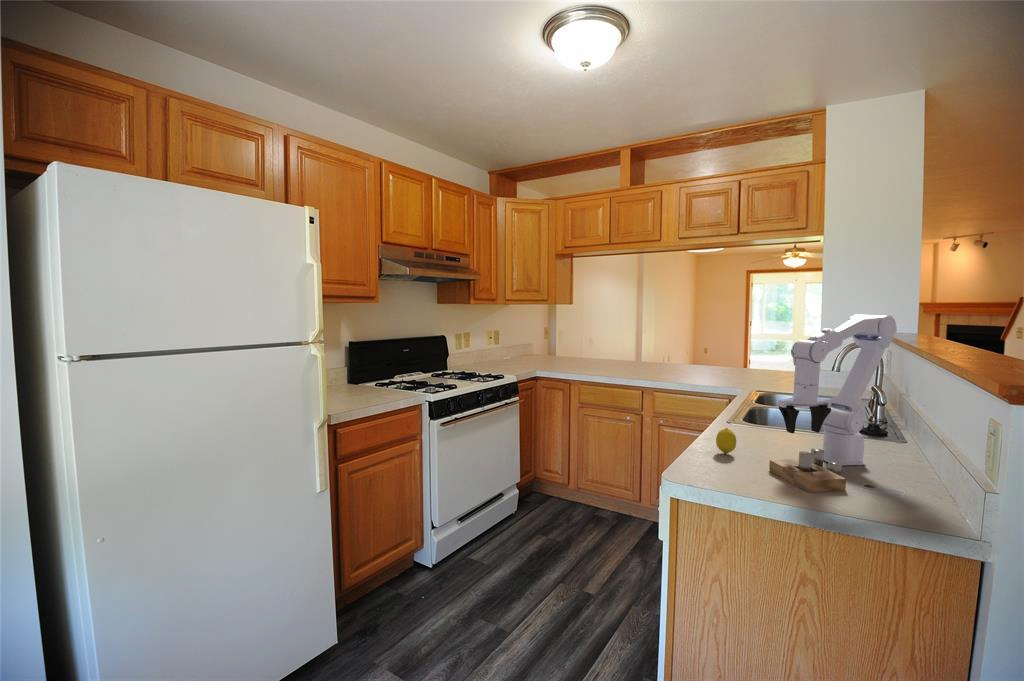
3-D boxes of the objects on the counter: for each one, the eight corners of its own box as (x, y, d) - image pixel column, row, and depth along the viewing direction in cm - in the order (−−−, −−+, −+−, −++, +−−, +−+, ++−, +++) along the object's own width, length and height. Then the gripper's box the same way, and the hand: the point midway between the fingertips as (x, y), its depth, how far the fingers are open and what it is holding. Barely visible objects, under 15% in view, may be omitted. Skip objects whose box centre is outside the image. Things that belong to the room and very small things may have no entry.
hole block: (802, 469, 127) (803, 458, 126) (845, 490, 113) (846, 478, 113) (769, 470, 126) (769, 460, 125) (808, 492, 112) (809, 480, 111)
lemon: (737, 457, 136) (739, 431, 135) (717, 456, 137) (719, 430, 136) (732, 451, 141) (734, 426, 140) (713, 450, 142) (714, 425, 141)
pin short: (834, 473, 124) (835, 460, 124) (843, 477, 121) (844, 464, 121) (824, 473, 124) (825, 461, 123) (833, 478, 121) (834, 465, 120)
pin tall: (805, 477, 121) (807, 451, 121) (813, 481, 118) (815, 455, 118) (794, 477, 121) (796, 451, 120) (802, 481, 118) (804, 455, 117)
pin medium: (817, 465, 130) (818, 448, 130) (825, 469, 127) (826, 451, 127) (807, 465, 130) (808, 448, 129) (815, 469, 127) (816, 451, 126)
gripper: (818, 380, 132) (815, 427, 133) (772, 381, 130) (769, 428, 131) (839, 385, 125) (835, 434, 126) (790, 386, 123) (786, 436, 124)
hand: (802, 432), depth 128 cm, fingers open, 7 cm apart
